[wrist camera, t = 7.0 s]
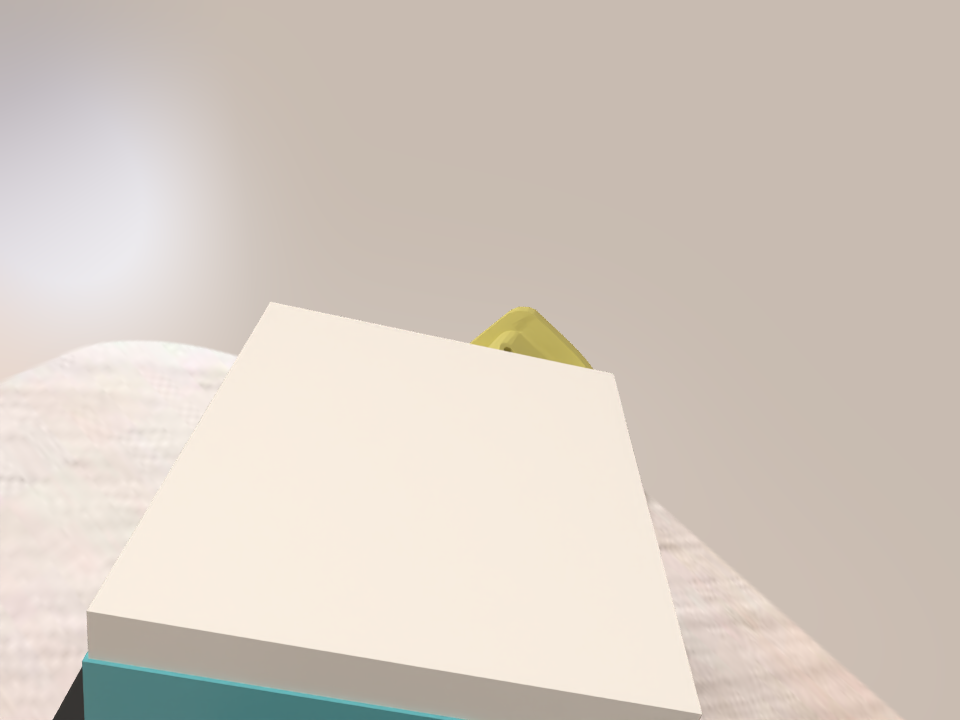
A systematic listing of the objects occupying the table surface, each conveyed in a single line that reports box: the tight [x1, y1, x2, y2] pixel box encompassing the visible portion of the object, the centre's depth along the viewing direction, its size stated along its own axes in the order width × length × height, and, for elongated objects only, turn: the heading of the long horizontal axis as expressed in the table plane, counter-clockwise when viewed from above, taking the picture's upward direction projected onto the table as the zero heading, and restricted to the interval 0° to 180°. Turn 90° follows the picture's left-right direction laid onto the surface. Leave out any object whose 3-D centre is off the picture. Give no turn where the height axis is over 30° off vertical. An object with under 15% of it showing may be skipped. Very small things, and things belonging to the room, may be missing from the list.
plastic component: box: [469, 307, 594, 370], centre depth 41 cm, size 20×7×10 cm
